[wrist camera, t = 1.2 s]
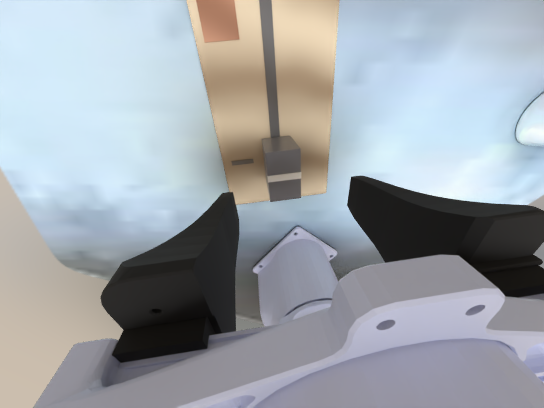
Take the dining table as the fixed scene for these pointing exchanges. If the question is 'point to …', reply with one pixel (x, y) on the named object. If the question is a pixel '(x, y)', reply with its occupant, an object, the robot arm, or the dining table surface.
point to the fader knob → (282, 168)
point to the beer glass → (532, 124)
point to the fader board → (268, 84)
